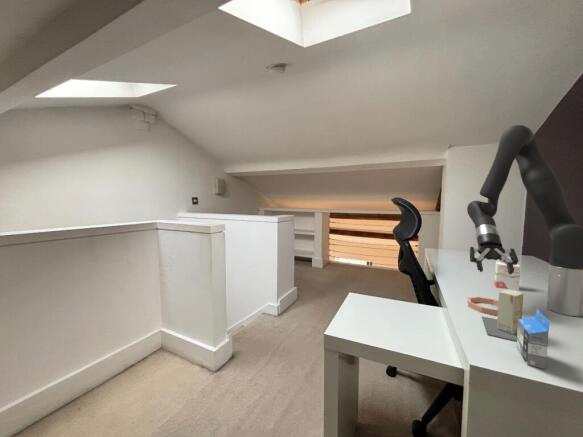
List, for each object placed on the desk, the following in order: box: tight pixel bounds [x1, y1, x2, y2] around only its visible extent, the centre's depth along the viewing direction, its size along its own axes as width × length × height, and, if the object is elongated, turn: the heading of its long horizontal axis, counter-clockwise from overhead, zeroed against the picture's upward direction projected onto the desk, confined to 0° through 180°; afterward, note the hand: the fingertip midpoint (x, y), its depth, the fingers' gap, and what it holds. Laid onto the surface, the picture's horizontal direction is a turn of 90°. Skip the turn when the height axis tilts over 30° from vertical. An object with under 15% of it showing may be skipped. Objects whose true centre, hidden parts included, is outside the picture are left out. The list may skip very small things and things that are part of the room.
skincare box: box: [497, 289, 524, 334], centre depth 77 cm, size 6×4×12 cm
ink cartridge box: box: [493, 256, 521, 291], centre depth 117 cm, size 9×5×15 cm, turn 58°
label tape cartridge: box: [516, 308, 551, 370], centre depth 63 cm, size 9×4×12 cm, turn 150°
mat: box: [481, 315, 517, 343], centre depth 77 cm, size 12×14×1 cm
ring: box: [466, 296, 499, 317], centre depth 94 cm, size 13×13×2 cm
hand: (495, 271), depth 90 cm, fingers open, 8 cm apart
